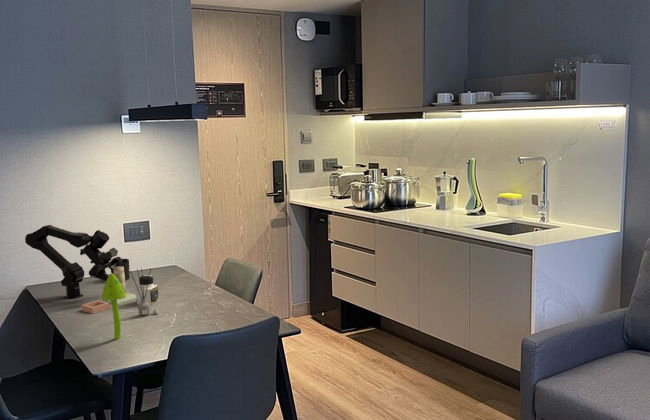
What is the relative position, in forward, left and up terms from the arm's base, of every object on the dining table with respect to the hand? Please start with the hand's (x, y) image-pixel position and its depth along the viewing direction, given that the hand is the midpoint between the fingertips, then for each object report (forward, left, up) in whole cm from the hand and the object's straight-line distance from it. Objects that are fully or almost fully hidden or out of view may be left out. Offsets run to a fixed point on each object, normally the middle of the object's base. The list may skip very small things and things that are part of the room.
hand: (118, 279), depth 284 cm
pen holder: (-31, +23, -9) cm, 40 cm away
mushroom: (+45, -34, -9) cm, 57 cm away
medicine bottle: (+16, +3, -9) cm, 19 cm away
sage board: (+1, 0, -9) cm, 9 cm away
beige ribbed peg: (+1, 0, -8) cm, 8 cm away
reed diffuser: (+30, -9, -9) cm, 33 cm away
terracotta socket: (+5, -16, -9) cm, 19 cm away
